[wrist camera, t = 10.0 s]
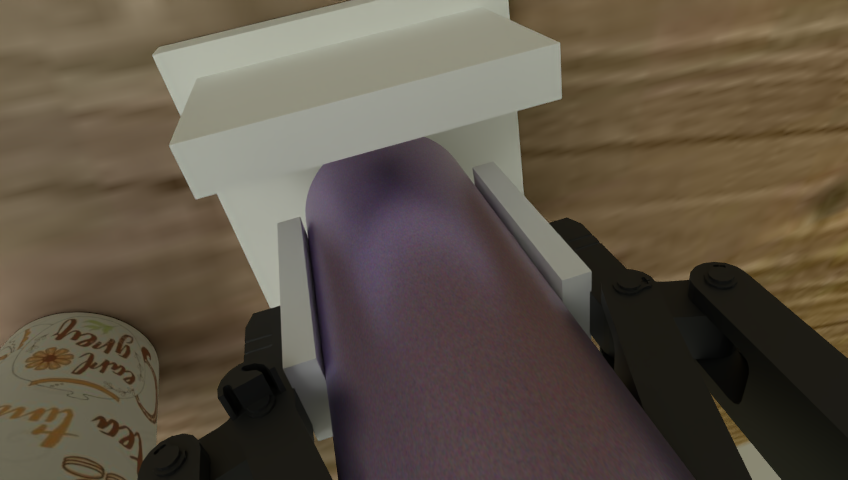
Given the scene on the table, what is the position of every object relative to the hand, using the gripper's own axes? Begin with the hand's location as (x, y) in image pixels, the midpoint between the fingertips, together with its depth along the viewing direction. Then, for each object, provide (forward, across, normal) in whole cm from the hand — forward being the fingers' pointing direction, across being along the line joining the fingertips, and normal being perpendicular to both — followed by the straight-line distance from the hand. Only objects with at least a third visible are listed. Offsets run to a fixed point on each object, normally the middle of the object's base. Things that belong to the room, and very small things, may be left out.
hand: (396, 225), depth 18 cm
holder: (+5, 0, 0) cm, 5 cm away
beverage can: (+2, 0, 0) cm, 2 cm away
